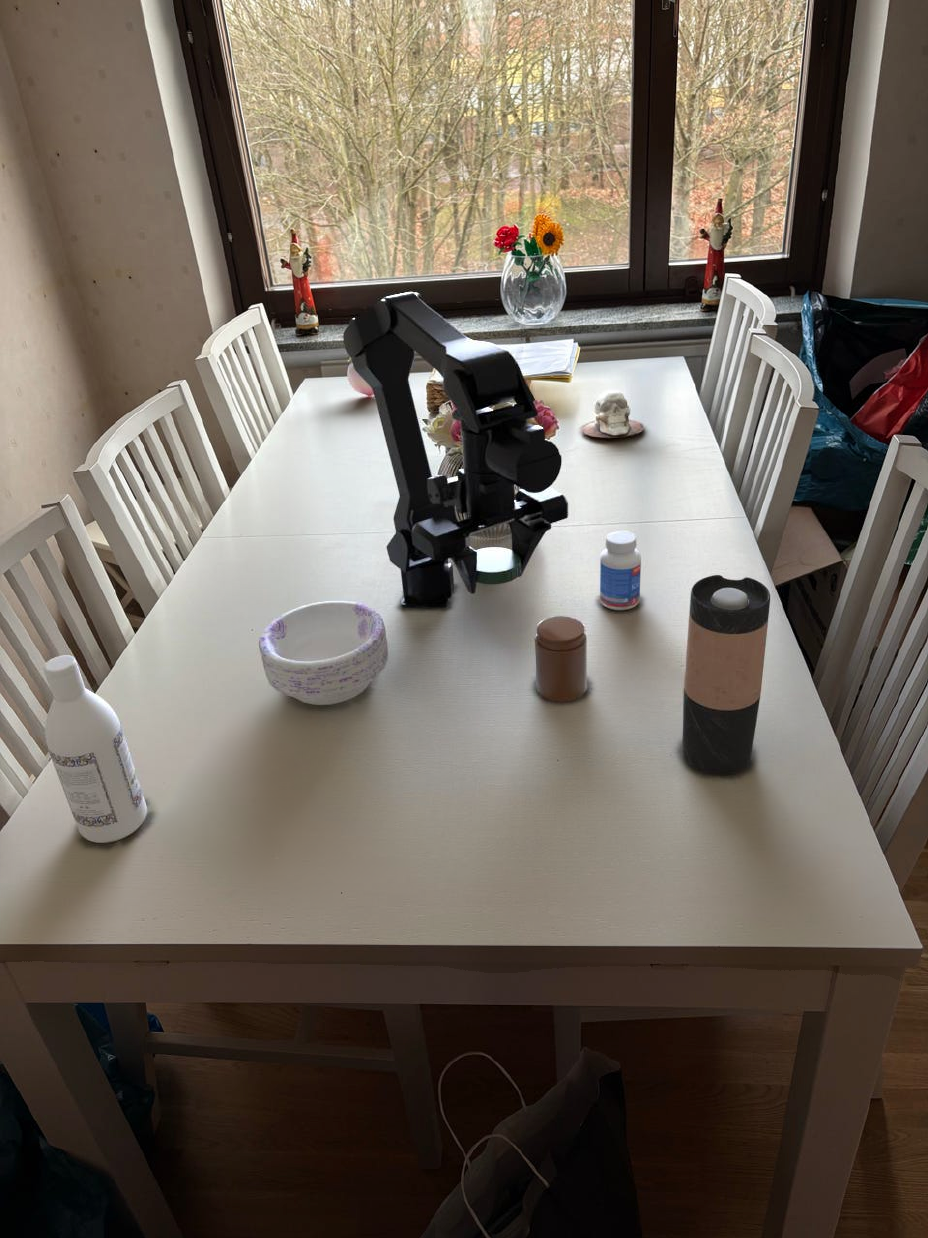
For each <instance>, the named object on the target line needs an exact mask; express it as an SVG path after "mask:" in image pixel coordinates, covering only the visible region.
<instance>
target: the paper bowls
mask: <svg viewBox="0 0 928 1238" xmlns="http://www.w3.org/2000/svg"><path fill="white" fill-rule="evenodd" d="M387 639H388V638H387V630H386V626H385V623H384V620H383V618H382V616H381V615H380V614H379V612H378V611H376V610H375V609H373V608H372V607H370V606H368V605H366V604H363V603H359V602H355V601H350V600H349V601H347V600H325V601H319V602H312V603H309V604H305V605H302V606H298V607H296V608H293V609H292V610H289V611H286V612H285V613H282V614H281V615H279V616H278V617H276V618H275V619H274V620H272V621H271V622H270V623H269V624H268V625H267V626H266V627H265V628H264V630H263V631H262V633H261V635H260V637H259V641H258V649H259V652H260V653H259V654H260V657H261V662H262V667H263V670H264V674H265V677H266V679H267V682H268V684H269V686H271V687H272V688H273V689H274V690H275V691H277V692H279V693H280V694H283V695H285V696H289V697H293V698H295V699H296V700H298V701H300V702H302V703H304V704H309V705H315V706H327V705H328V706H329V705H335V704H340V703H343V702H347V701H348V700H351V699H353V698H355V697H357V696H358V695H360V694H361V693H363V692H364V691H365V690H366V689H367V688H368V687H369V685H370V684H371V682H372V681H374V680H375V679H376V678H377V677H379V675H380V674H381V673H382V672H383V671H384V669H385V668H386V666H387V664H388V660H389V647H388V640H387Z"/></svg>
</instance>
